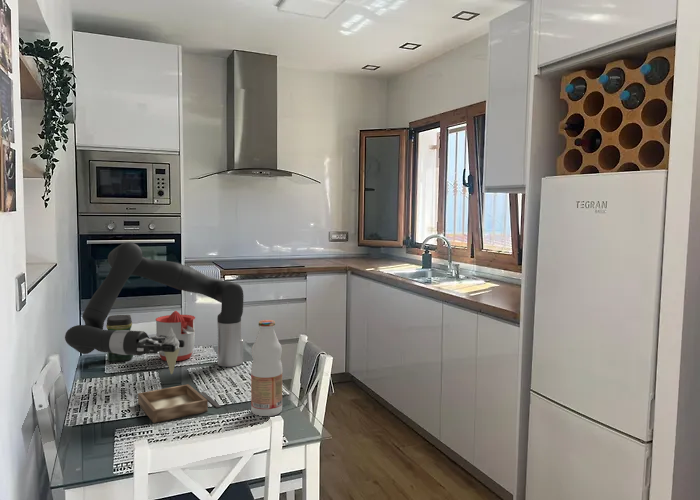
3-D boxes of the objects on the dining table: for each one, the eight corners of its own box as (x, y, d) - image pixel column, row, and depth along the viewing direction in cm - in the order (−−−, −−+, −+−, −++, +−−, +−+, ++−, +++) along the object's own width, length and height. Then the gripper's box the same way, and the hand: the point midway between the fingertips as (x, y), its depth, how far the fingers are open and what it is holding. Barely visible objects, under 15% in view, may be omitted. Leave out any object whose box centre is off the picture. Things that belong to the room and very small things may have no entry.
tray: (202, 391, 176) (202, 381, 176) (222, 408, 161) (222, 397, 161) (138, 404, 164) (138, 393, 164) (153, 423, 149) (153, 411, 149)
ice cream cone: (165, 371, 163) (165, 324, 162) (181, 371, 163) (181, 324, 162) (160, 376, 158) (160, 328, 157) (178, 376, 158) (177, 328, 157)
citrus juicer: (175, 366, 204) (174, 316, 203) (148, 359, 214) (147, 311, 213) (206, 357, 218) (206, 310, 216) (179, 351, 227) (178, 306, 226)
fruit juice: (256, 419, 153) (255, 325, 151) (247, 408, 161) (247, 319, 159) (286, 414, 157) (286, 323, 155) (276, 404, 165) (276, 317, 164)
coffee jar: (133, 356, 218) (133, 312, 217) (131, 361, 211) (131, 316, 210) (108, 358, 215) (107, 313, 214) (105, 363, 208) (104, 317, 207)
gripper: (114, 336, 155) (167, 339, 152) (141, 325, 169) (190, 328, 166) (115, 360, 156) (167, 364, 153) (142, 348, 170) (190, 351, 167)
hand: (179, 346), depth 160 cm, fingers closed on ice cream cone, 5 cm apart
